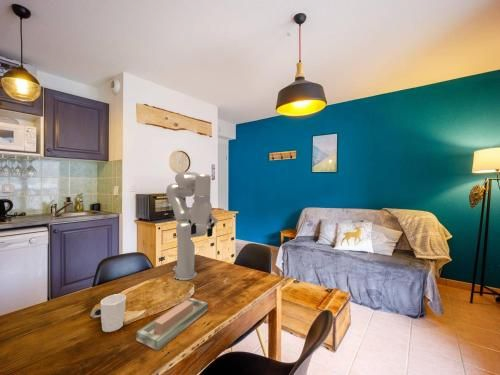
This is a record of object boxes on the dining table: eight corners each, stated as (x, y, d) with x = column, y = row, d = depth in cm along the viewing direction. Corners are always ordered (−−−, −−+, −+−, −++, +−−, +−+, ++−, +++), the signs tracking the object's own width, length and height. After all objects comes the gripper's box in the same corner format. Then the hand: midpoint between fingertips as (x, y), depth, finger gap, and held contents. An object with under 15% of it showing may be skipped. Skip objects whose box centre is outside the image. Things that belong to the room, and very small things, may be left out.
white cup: (98, 336, 76) (99, 307, 76) (101, 323, 83) (102, 296, 83) (124, 329, 80) (125, 301, 80) (125, 317, 87) (126, 292, 87)
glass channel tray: (136, 340, 74) (136, 331, 74) (189, 304, 98) (189, 297, 98) (157, 350, 70) (158, 341, 70) (207, 310, 94) (207, 303, 93)
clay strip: (154, 332, 77) (154, 321, 77) (186, 310, 91) (186, 300, 91) (161, 336, 76) (161, 324, 75) (192, 312, 90) (193, 302, 90)
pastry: (96, 306, 94) (97, 297, 94) (115, 304, 97) (115, 295, 97) (89, 319, 86) (89, 309, 86) (109, 316, 88) (109, 307, 88)
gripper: (183, 199, 108) (182, 234, 108) (212, 201, 100) (211, 239, 100) (193, 198, 114) (192, 231, 115) (221, 200, 107) (220, 235, 107)
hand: (201, 235), depth 107 cm, fingers open, 9 cm apart
